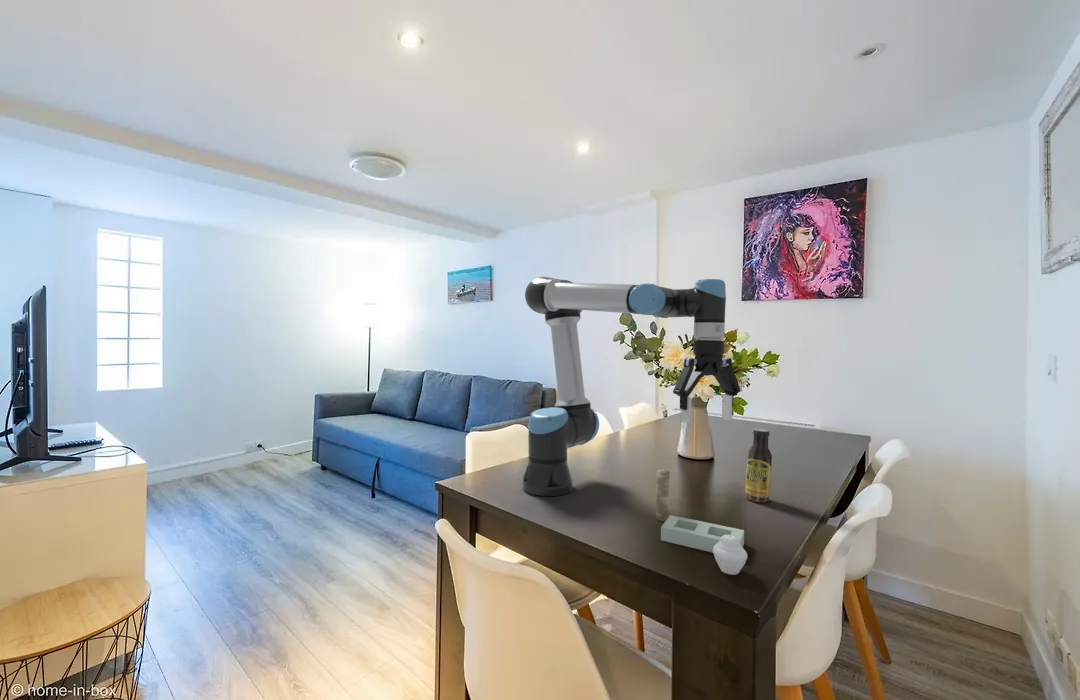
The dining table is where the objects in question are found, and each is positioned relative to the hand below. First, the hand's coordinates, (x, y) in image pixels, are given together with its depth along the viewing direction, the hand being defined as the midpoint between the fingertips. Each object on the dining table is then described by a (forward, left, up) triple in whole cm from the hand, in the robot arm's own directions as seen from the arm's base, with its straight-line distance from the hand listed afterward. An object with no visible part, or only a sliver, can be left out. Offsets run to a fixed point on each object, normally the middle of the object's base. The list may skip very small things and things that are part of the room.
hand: (706, 421), depth 117 cm
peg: (-8, -12, -24) cm, 27 cm away
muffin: (+10, -30, -24) cm, 39 cm away
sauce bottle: (+11, +16, -24) cm, 31 cm away
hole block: (+3, -20, -24) cm, 31 cm away
